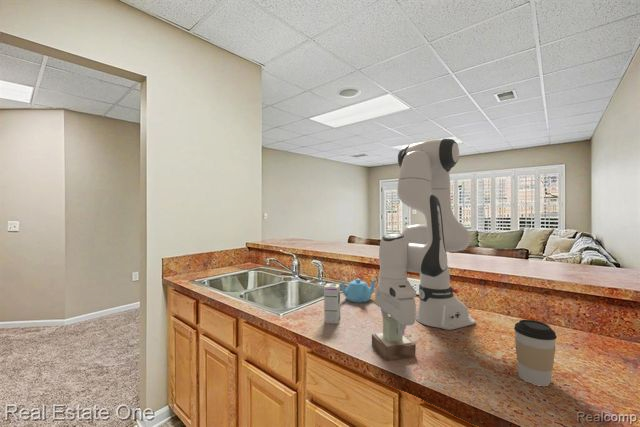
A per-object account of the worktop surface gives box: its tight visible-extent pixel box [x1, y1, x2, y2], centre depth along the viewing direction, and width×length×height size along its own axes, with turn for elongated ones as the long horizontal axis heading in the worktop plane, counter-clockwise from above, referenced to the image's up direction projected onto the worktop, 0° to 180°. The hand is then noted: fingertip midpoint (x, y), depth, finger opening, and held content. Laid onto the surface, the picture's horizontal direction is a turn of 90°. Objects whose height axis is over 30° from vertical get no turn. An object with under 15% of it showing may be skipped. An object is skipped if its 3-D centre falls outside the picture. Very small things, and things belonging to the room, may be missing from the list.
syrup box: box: [323, 282, 341, 325], centre depth 116 cm, size 6×6×14 cm
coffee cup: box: [513, 319, 558, 386], centre depth 76 cm, size 9×9×15 cm
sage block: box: [382, 316, 403, 342], centre depth 92 cm, size 4×4×6 cm
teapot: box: [338, 278, 378, 304], centre depth 143 cm, size 15×15×10 cm
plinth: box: [371, 332, 417, 361], centre depth 92 cm, size 10×10×4 cm
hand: (392, 328), depth 92 cm, fingers open, 8 cm apart
